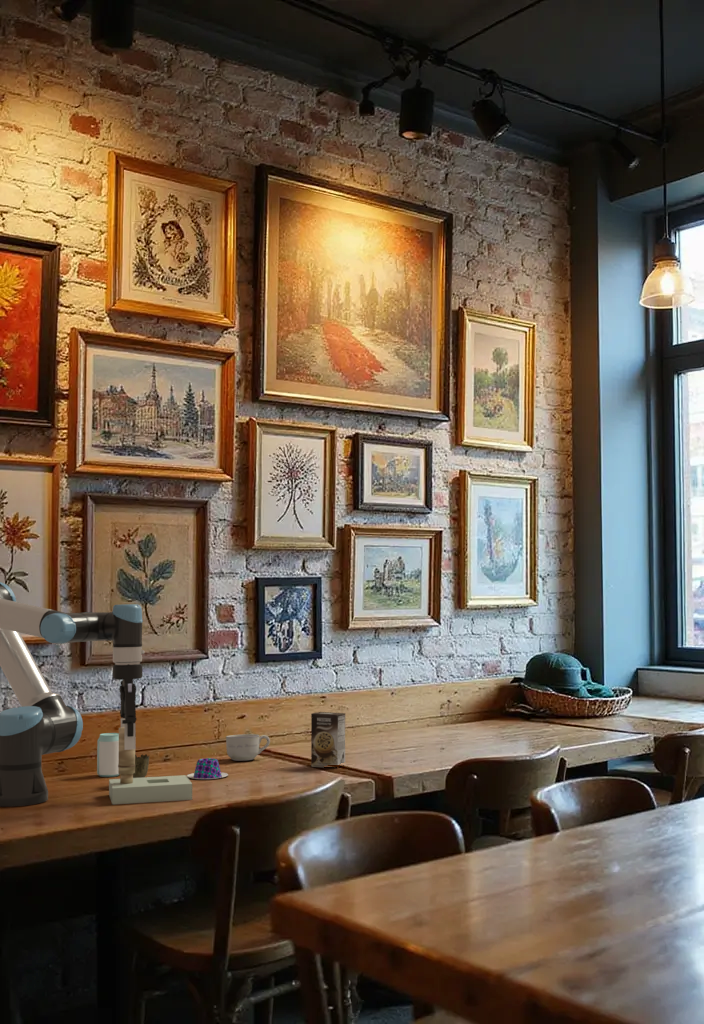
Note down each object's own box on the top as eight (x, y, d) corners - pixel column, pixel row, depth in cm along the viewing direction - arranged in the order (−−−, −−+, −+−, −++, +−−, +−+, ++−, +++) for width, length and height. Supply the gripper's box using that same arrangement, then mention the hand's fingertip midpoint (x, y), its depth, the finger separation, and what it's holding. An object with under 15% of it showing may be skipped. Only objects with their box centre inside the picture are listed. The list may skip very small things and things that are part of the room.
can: (116, 772, 316) (117, 731, 317) (125, 775, 310) (125, 734, 311) (93, 775, 312) (94, 733, 313) (101, 778, 306) (102, 736, 307)
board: (112, 804, 266) (112, 788, 267) (108, 794, 280) (109, 779, 280) (192, 799, 272) (192, 783, 272) (185, 790, 285) (185, 775, 286)
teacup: (223, 762, 333) (223, 736, 334) (228, 757, 344) (228, 732, 345) (267, 762, 333) (267, 736, 333) (271, 757, 344) (271, 732, 344)
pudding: (236, 776, 309) (236, 758, 309) (210, 782, 299) (210, 763, 299) (204, 773, 315) (204, 755, 315) (177, 779, 305) (177, 760, 305)
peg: (118, 784, 272) (119, 729, 273) (117, 781, 276) (117, 727, 277) (135, 783, 273) (136, 728, 274) (134, 781, 277) (134, 726, 278)
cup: (152, 782, 298) (152, 753, 298) (144, 787, 290) (145, 757, 291) (126, 782, 298) (126, 753, 299) (118, 787, 291) (118, 757, 292)
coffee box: (310, 767, 323) (310, 713, 324) (319, 764, 329) (318, 711, 330) (337, 768, 319) (337, 714, 321) (346, 765, 325) (345, 712, 327)
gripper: (146, 665, 266) (147, 751, 264) (138, 660, 290) (138, 739, 288) (116, 666, 264) (116, 753, 262) (110, 661, 288) (110, 741, 286)
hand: (127, 746), depth 275 cm, fingers open, 13 cm apart
